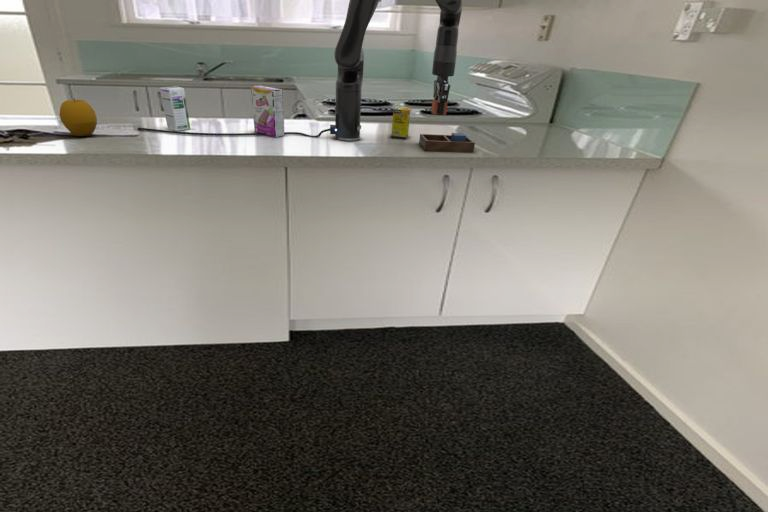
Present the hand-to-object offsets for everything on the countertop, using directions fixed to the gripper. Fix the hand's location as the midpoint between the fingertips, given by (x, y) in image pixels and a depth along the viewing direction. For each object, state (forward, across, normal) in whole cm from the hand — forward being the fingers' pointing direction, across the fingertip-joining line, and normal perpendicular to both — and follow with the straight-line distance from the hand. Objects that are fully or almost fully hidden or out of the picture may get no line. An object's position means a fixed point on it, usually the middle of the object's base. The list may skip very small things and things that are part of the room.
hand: (438, 112), depth 149 cm
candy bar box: (+12, -11, -61) cm, 63 cm away
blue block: (+12, 0, +9) cm, 14 cm away
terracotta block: (0, 0, 0) cm, 0 cm away
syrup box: (+12, -14, -94) cm, 96 cm away
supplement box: (+12, -15, -11) cm, 22 cm away
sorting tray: (+12, 0, +4) cm, 13 cm away
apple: (+12, +2, -119) cm, 119 cm away
